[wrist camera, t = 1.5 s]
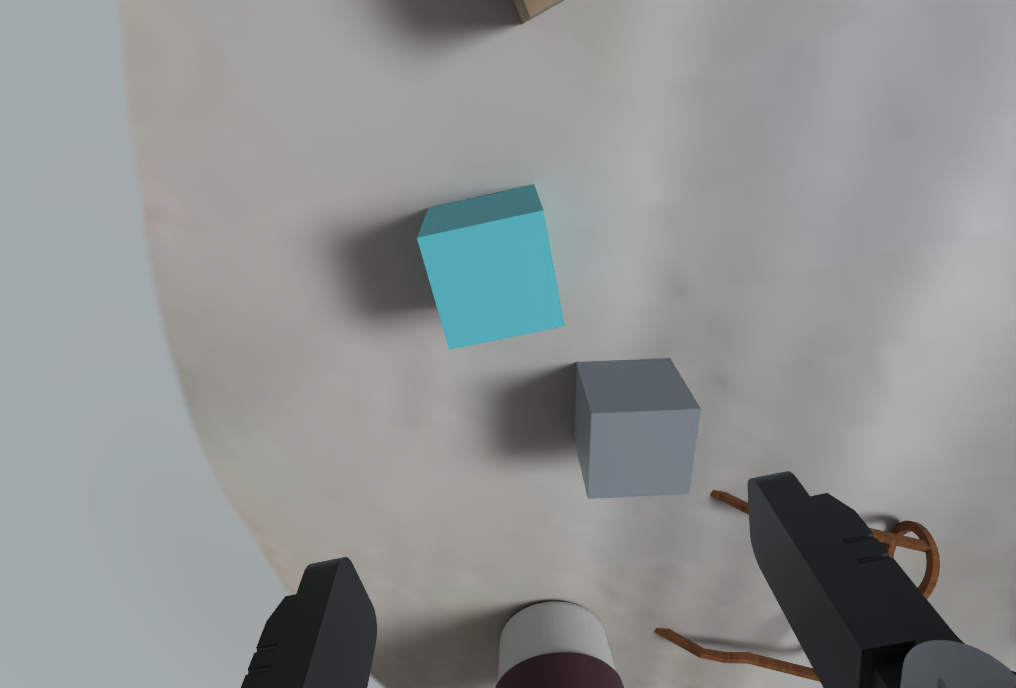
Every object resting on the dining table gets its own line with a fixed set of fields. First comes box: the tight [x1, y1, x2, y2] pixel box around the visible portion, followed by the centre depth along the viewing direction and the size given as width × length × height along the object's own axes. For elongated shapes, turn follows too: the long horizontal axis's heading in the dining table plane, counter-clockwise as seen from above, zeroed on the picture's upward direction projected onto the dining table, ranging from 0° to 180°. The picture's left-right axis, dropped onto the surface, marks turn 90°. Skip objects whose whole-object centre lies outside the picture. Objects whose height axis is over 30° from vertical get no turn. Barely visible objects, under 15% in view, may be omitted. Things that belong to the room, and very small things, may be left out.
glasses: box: [656, 490, 940, 681], centre depth 37 cm, size 13×13×5 cm
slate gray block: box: [574, 358, 700, 499], centre depth 30 cm, size 5×5×5 cm
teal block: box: [417, 185, 565, 350], centre depth 26 cm, size 5×5×5 cm
